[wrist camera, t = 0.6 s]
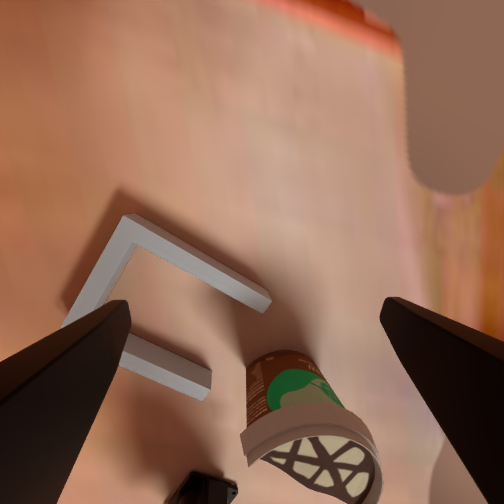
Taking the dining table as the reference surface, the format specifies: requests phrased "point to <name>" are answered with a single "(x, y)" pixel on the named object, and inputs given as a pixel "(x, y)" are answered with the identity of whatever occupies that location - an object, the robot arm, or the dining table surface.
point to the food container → (308, 430)
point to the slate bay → (184, 257)
